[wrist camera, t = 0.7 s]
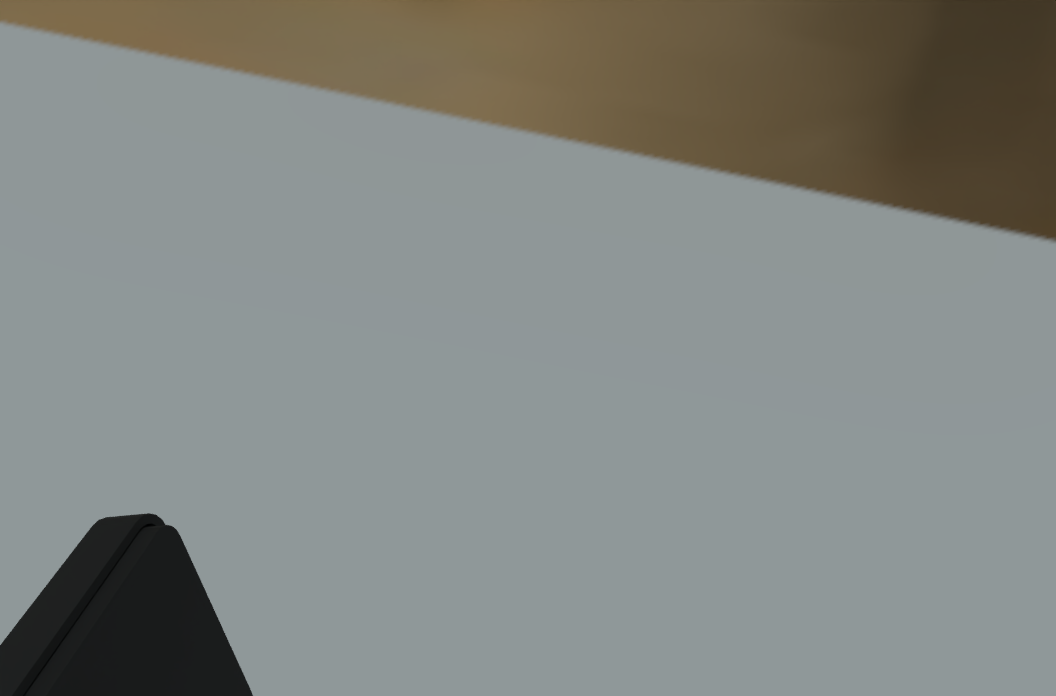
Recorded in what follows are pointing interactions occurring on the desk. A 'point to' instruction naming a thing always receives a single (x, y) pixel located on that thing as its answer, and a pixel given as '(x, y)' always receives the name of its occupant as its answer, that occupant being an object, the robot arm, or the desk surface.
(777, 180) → the desk surface
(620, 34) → the desk surface
